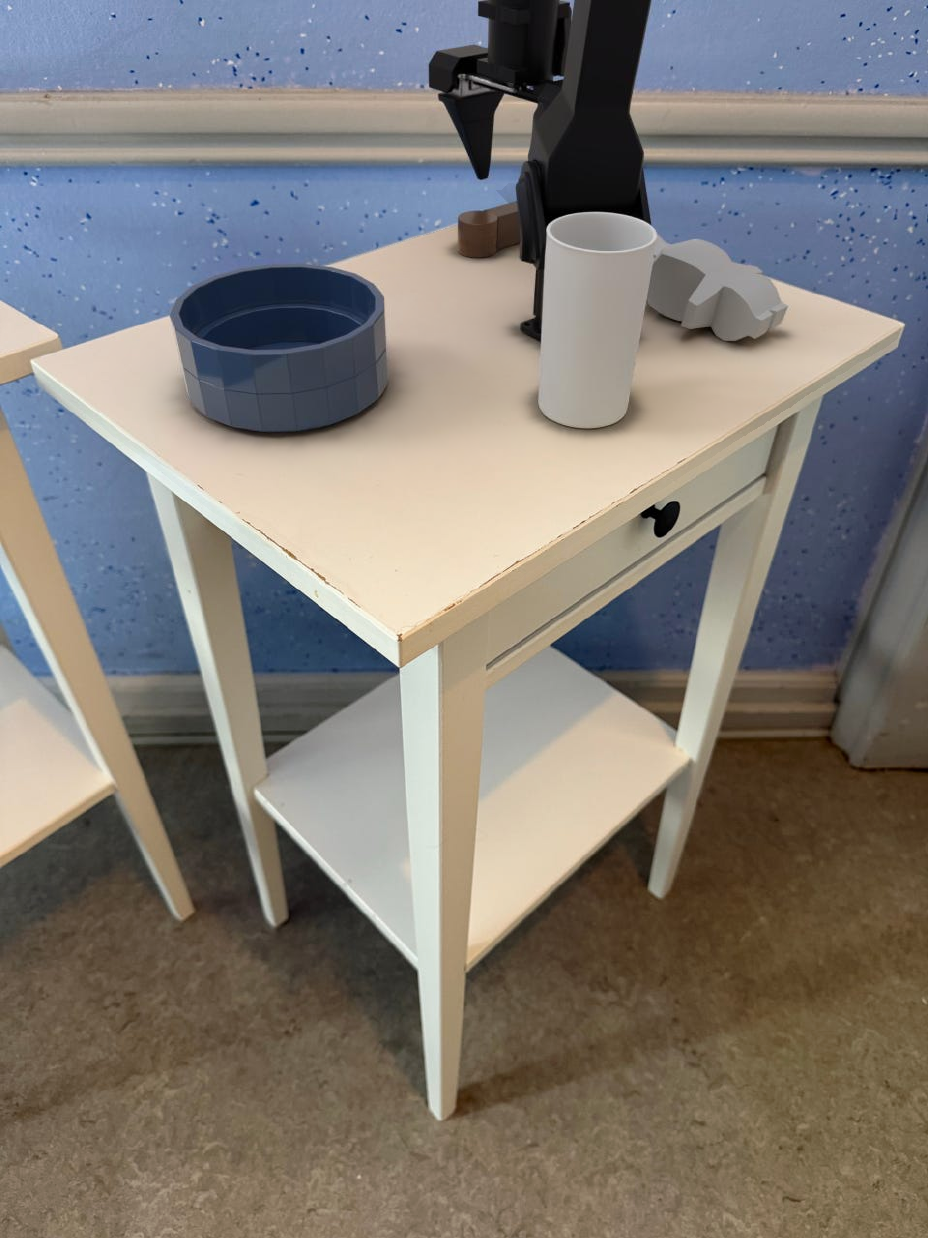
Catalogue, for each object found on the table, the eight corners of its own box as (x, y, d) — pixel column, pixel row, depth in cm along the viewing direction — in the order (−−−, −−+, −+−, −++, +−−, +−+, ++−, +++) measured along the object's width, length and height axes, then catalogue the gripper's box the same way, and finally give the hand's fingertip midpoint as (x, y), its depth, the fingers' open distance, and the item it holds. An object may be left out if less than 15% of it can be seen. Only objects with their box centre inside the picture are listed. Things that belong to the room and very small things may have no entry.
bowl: (427, 393, 65) (426, 312, 61) (252, 461, 58) (237, 376, 54) (318, 324, 73) (311, 248, 69) (153, 377, 66) (134, 297, 62)
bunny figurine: (748, 312, 66) (590, 232, 72) (726, 373, 70) (578, 292, 76) (814, 275, 71) (661, 203, 77) (790, 334, 75) (647, 261, 81)
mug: (597, 442, 60) (620, 261, 52) (515, 409, 63) (524, 233, 55) (671, 385, 66) (702, 213, 58) (592, 357, 69) (611, 191, 61)
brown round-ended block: (549, 237, 87) (551, 204, 85) (474, 261, 83) (475, 227, 80) (523, 226, 89) (525, 194, 87) (449, 249, 85) (449, 215, 83)
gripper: (680, -8, 71) (651, 200, 82) (520, -37, 82) (512, 150, 93) (580, 8, 66) (562, 228, 77) (423, -25, 77) (426, 172, 87)
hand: (515, 191), depth 84 cm, fingers open, 9 cm apart
